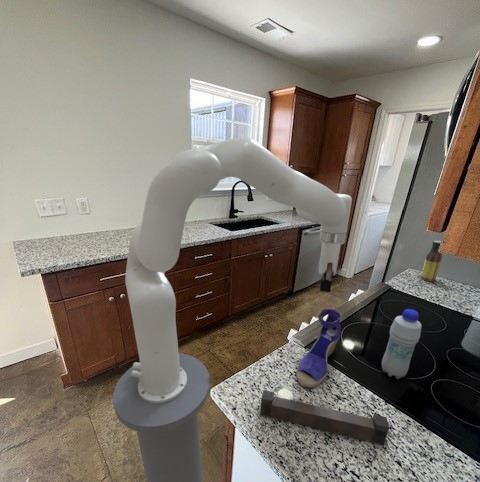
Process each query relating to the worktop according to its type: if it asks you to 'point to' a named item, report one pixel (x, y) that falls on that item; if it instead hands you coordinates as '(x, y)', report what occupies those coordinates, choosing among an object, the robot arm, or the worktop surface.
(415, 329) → the bottle
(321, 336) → the sandal
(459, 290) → the worktop surface
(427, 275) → the sauce bottle
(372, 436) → the rail
